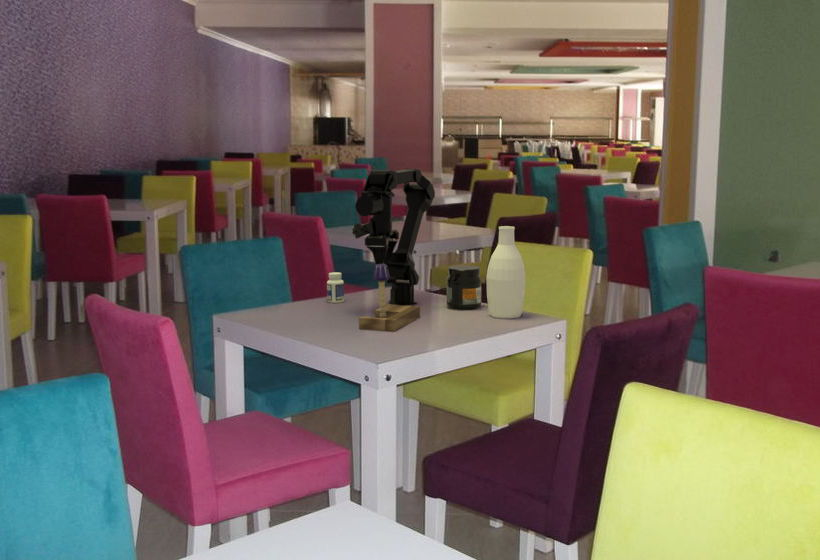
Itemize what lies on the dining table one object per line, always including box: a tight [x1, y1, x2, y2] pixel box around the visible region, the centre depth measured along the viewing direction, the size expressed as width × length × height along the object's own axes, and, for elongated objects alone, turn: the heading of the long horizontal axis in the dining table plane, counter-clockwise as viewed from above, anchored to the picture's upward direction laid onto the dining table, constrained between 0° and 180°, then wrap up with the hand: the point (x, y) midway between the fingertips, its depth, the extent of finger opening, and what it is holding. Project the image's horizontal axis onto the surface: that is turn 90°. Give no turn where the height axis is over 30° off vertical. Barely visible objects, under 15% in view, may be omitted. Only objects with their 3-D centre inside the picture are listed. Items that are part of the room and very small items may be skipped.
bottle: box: [485, 225, 527, 319], centre depth 262 cm, size 11×11×25 cm
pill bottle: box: [326, 271, 345, 304], centre depth 286 cm, size 5×5×9 cm
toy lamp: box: [372, 263, 390, 318], centre depth 251 cm, size 5×5×17 cm
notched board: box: [358, 303, 421, 332], centre depth 255 cm, size 10×20×3 cm, turn 160°
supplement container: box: [446, 264, 483, 311], centre depth 276 cm, size 10×10×12 cm
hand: (382, 267), depth 270 cm, fingers open, 9 cm apart
